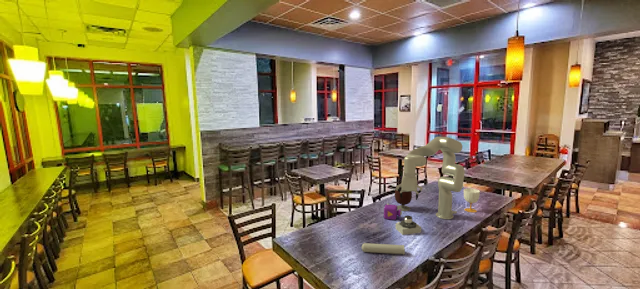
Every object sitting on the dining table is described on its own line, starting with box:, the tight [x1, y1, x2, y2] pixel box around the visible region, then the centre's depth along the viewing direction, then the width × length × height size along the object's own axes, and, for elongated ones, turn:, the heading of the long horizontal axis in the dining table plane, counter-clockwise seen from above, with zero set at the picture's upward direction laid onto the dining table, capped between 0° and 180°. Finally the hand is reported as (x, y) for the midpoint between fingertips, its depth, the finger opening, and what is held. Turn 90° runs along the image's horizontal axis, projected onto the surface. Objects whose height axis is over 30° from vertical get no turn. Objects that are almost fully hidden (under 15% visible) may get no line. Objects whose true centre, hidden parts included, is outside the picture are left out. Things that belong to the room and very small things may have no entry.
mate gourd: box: [394, 186, 413, 212], centre depth 231 cm, size 16×14×20 cm
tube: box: [361, 242, 406, 256], centre depth 164 cm, size 5×5×25 cm
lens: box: [403, 215, 413, 225], centre depth 191 cm, size 5×5×6 cm
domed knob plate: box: [395, 220, 422, 236], centre depth 191 cm, size 14×10×6 cm
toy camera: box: [383, 203, 403, 221], centre depth 213 cm, size 11×14×10 cm
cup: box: [463, 187, 481, 213], centre depth 224 cm, size 12×12×17 cm
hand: (409, 198), depth 189 cm, fingers open, 9 cm apart
